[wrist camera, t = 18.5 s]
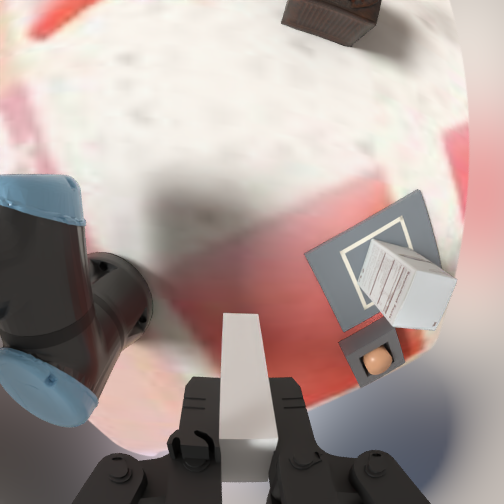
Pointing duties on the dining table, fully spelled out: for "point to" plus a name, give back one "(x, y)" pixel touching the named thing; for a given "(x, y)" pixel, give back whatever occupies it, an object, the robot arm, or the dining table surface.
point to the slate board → (355, 250)
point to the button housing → (371, 349)
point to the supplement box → (405, 286)
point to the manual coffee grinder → (333, 18)
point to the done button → (377, 360)
